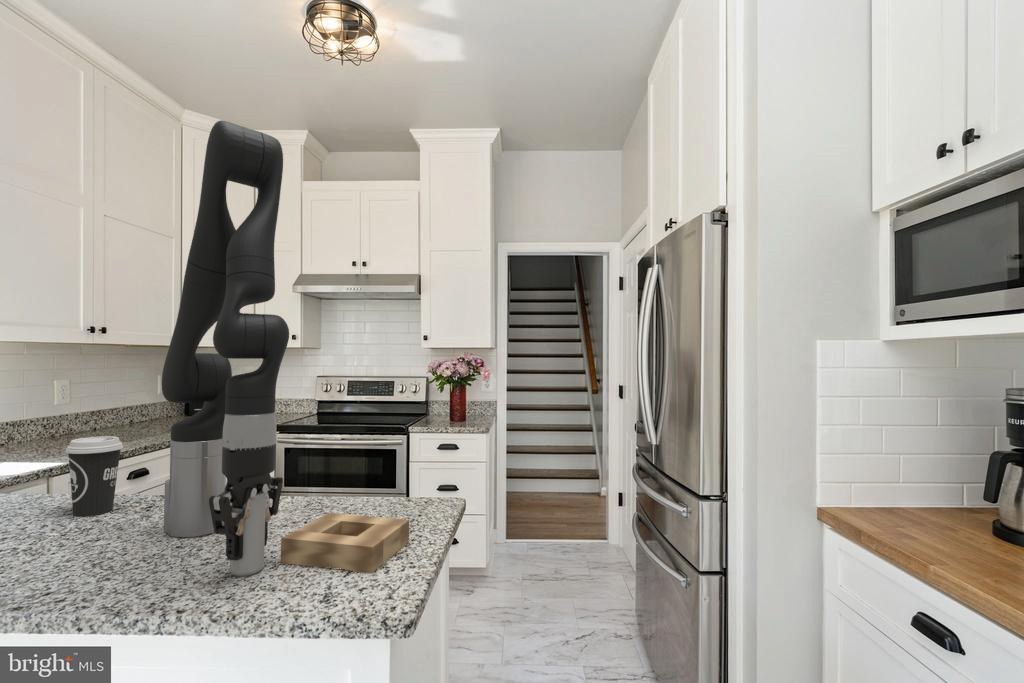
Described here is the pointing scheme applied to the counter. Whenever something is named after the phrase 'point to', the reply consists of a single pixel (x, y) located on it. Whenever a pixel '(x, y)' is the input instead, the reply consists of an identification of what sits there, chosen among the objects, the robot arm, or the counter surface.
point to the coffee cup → (93, 474)
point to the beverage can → (251, 539)
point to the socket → (345, 542)
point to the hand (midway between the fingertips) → (247, 552)
